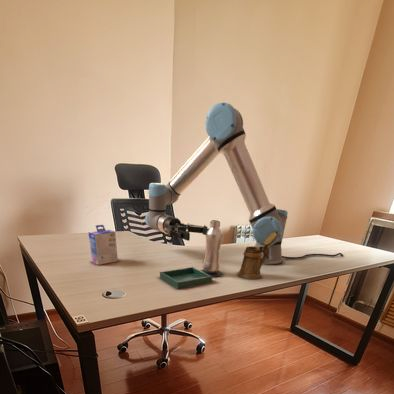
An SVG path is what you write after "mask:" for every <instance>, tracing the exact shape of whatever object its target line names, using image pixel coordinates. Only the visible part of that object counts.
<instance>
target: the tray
mask: <svg viewBox="0 0 394 394" xmlns="http://www.w3.org/2000/svg"><path fill="white" fill-rule="evenodd" d="M159 279H160V280H162V281H164V282H166V283H167V284H169V285H171V286H172V287H173V288H176V290H179V289H184V288H191V287H194V286H195V287H196V286H200V285H205V284H211V283H212V280H213V277H212V276H210V275H208V274H206V273H204V272H202V271H201V269H198V268H196V267H194V266H189V267H184V268H177V269H172V270H171V269H170V270H165V271H159Z"/></svg>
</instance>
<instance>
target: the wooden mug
mask: <svg viewBox="0 0 394 394" xmlns="http://www.w3.org/2000/svg"><path fill="white" fill-rule="evenodd" d="M277 235H278V231H275V232H273V233H271V234H270V235H269V236H268V237H267V238H266V239H265V242H264V245H263V246H260V247H259V248H257V247H254V246H249V245H248V246H246V247H245V250H244V252H243V258H242V263H241V266H240V269H239V271H238V276H239V277H241V278H244V279H248V280H257V279H259V278H260V277H261V269H262V265H264V264H263V263H264V261H265V260H266V258H267V256H268V246H269V245H271V244H272V243H273V242H274V241H275V239H276V238H277ZM261 252H263V253H264V256H263V258H261V256H262V254H261Z"/></svg>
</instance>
